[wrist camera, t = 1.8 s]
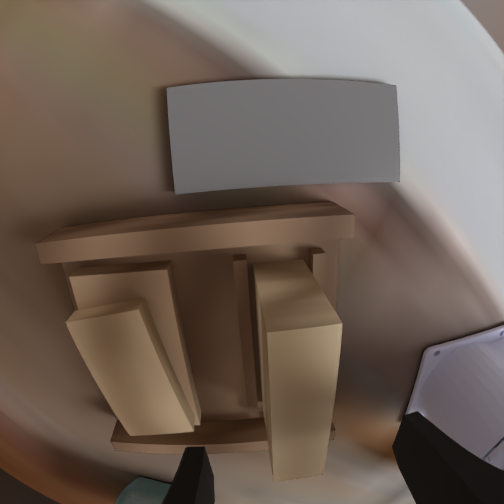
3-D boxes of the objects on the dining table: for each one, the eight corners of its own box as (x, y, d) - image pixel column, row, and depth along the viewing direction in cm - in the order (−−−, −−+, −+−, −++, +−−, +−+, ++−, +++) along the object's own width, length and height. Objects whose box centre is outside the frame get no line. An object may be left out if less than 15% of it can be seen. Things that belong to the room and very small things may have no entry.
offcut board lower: (171, 260, 15) (166, 269, 14) (201, 411, 18) (200, 425, 17) (78, 267, 15) (69, 276, 14) (126, 411, 18) (122, 423, 17)
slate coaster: (390, 86, 14) (396, 85, 13) (394, 180, 16) (399, 181, 15) (168, 90, 13) (166, 87, 13) (177, 192, 15) (175, 194, 15)
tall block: (303, 259, 16) (342, 323, 10) (301, 397, 18) (322, 474, 13) (252, 263, 15) (266, 332, 10) (262, 401, 18) (273, 481, 13)
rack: (332, 201, 16) (354, 214, 13) (323, 408, 20) (333, 439, 17) (63, 226, 15) (35, 243, 12) (124, 419, 20) (115, 450, 17)
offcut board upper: (144, 297, 14) (138, 309, 13) (195, 416, 17) (193, 431, 16) (74, 310, 14) (65, 322, 13) (133, 421, 17) (130, 435, 16)
